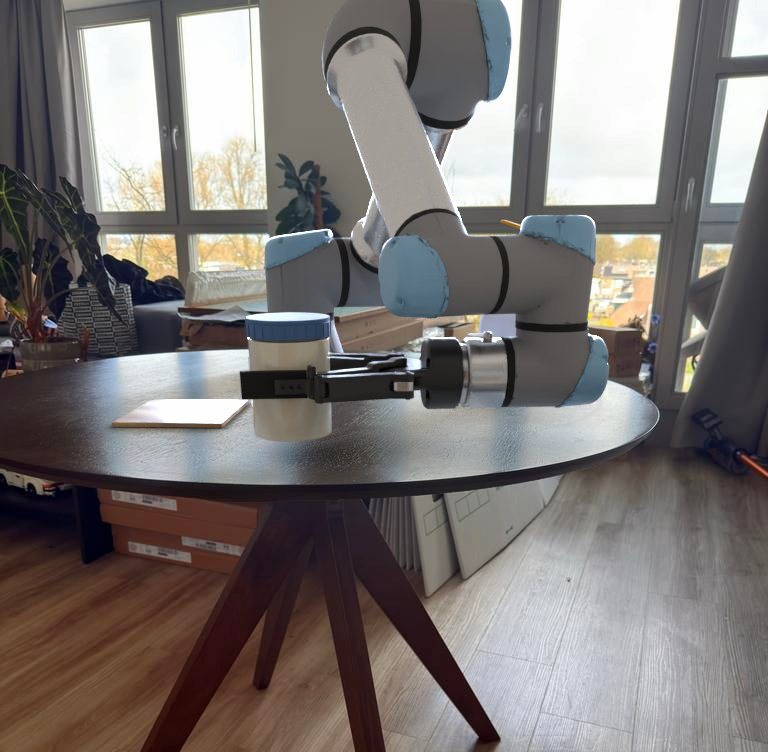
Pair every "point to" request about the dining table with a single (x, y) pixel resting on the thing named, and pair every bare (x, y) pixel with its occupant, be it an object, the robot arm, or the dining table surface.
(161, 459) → the dining table surface
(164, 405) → the mat
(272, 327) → the lid
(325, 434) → the jar
